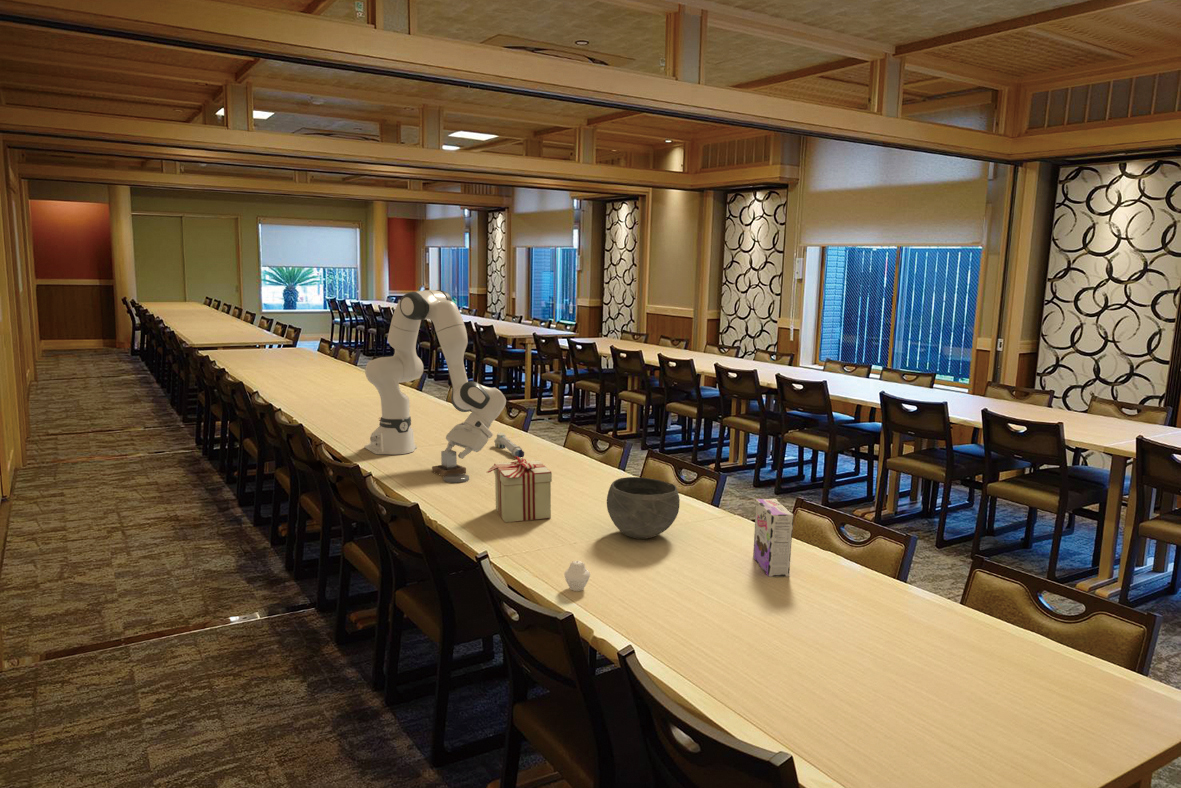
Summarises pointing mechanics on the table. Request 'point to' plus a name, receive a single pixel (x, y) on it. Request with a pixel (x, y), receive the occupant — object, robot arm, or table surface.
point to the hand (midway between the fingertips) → (453, 455)
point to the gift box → (522, 490)
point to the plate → (456, 478)
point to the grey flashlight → (508, 445)
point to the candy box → (773, 537)
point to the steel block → (448, 460)
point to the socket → (446, 472)
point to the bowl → (642, 506)
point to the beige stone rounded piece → (577, 576)
